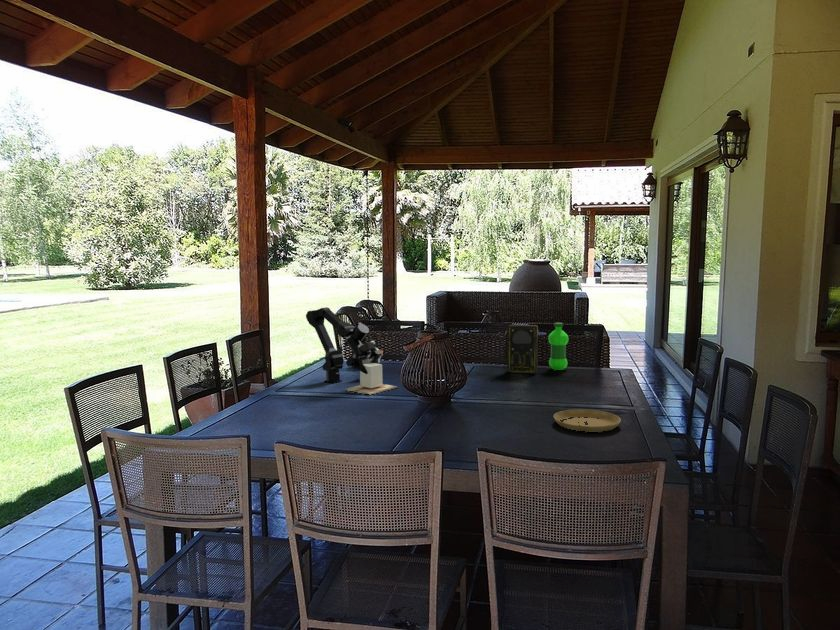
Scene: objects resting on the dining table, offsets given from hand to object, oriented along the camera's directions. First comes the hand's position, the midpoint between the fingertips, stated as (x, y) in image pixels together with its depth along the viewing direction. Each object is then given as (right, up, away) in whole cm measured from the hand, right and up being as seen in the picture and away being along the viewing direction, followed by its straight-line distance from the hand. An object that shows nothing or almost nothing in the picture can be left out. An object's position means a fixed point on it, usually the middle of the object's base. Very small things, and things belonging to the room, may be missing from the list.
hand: (373, 372), depth 295 cm
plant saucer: (+84, -15, -60) cm, 104 cm away
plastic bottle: (+95, -3, +41) cm, 104 cm away
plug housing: (-1, -6, +2) cm, 7 cm away
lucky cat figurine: (-7, -2, +59) cm, 59 cm away
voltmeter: (+76, -3, +36) cm, 84 cm away
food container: (-2, -6, +28) cm, 29 cm away
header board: (-1, -8, +2) cm, 9 cm away
